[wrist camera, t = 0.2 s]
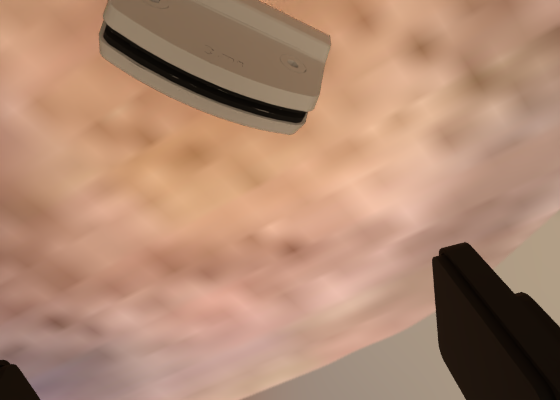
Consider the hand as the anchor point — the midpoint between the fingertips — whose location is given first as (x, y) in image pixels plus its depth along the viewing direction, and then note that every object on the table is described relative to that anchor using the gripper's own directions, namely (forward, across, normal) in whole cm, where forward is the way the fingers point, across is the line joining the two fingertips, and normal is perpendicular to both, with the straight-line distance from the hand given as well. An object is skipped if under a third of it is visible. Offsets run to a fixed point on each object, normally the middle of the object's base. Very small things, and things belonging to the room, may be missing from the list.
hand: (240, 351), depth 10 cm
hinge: (+31, 0, -2) cm, 32 cm away
